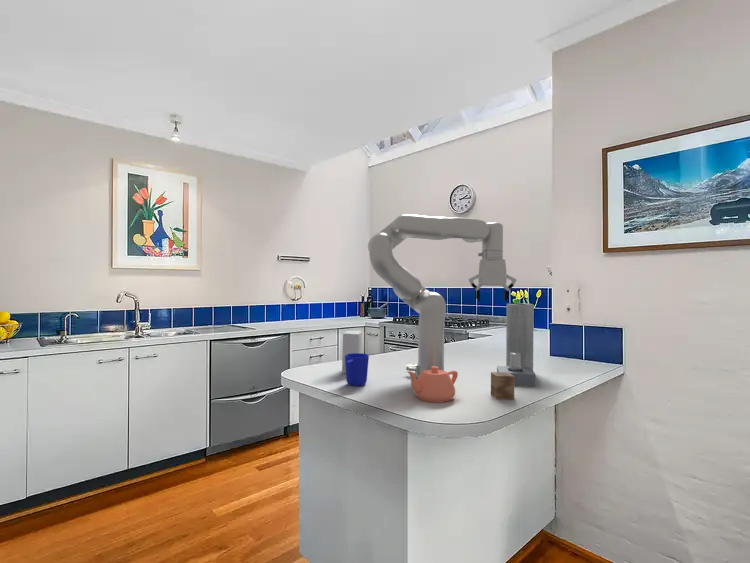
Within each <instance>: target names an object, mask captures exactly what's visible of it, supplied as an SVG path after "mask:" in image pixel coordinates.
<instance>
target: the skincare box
mask: <svg viewBox="0 0 750 563" xmlns="http://www.w3.org/2000/svg"><path fill="white" fill-rule="evenodd" d="M362 334H363V333H362V330H345V331H344V332H343V333H342V351H341V352H342V360H341V361H342V362H341V364H342V365H341V373H342V374H346V365H345V355H346V354H352V353H362V338H363V337H362Z"/></svg>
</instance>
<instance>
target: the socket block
mask: <svg viewBox="0 0 750 563" xmlns="http://www.w3.org/2000/svg"><path fill="white" fill-rule="evenodd" d="M496 372H509V373H510V374H512V375H513V376H515V381H514V386H523V387H524V386H525V387H536V384H537V380H536V379H537V378H536V377H537V376H536V375H537V374H536V372H535V371H534V369H533V370H532V368H530V367H521V369H520V372H517V371H510V366H506V365H497V367H496Z"/></svg>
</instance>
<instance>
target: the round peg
mask: <svg viewBox="0 0 750 563" xmlns="http://www.w3.org/2000/svg"><path fill="white" fill-rule="evenodd" d="M520 369H521V354H520V353H510V371H517V372H520Z"/></svg>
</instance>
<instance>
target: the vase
mask: <svg viewBox="0 0 750 563" xmlns="http://www.w3.org/2000/svg"><path fill="white" fill-rule="evenodd" d="M534 307H535V306H534V304H533V303H523V302H522V303H521V302H520V303H519V302H518V303H517V302H516V303H514V302H513V303H512V302H511V303H510V302H509V303H506V327H505V328H506V331H505V332H506V333H505V334H506V336H505V338H506V342H505V345H506V350H505V352H506V354H505V355H506V358H505V362H506V364H505V366H510V353H520V354H521V367H530V368H532V370H533V371H534V323H535V322H534V320H535V318H534V315H535V314H534V309H535V308H534Z"/></svg>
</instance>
